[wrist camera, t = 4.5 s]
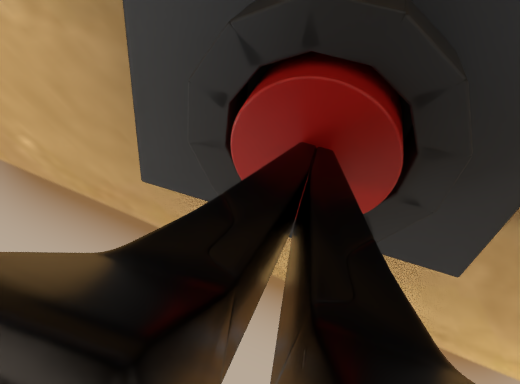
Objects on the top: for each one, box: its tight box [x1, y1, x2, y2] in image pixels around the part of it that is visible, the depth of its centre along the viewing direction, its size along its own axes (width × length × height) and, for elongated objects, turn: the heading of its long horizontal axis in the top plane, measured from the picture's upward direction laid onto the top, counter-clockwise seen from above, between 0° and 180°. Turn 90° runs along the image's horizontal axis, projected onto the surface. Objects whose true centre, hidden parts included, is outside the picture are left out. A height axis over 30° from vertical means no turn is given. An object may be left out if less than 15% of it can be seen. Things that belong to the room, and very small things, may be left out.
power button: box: [231, 51, 404, 219], centre depth 10 cm, size 4×4×2 cm
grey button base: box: [123, 0, 520, 277], centre depth 11 cm, size 13×10×4 cm
